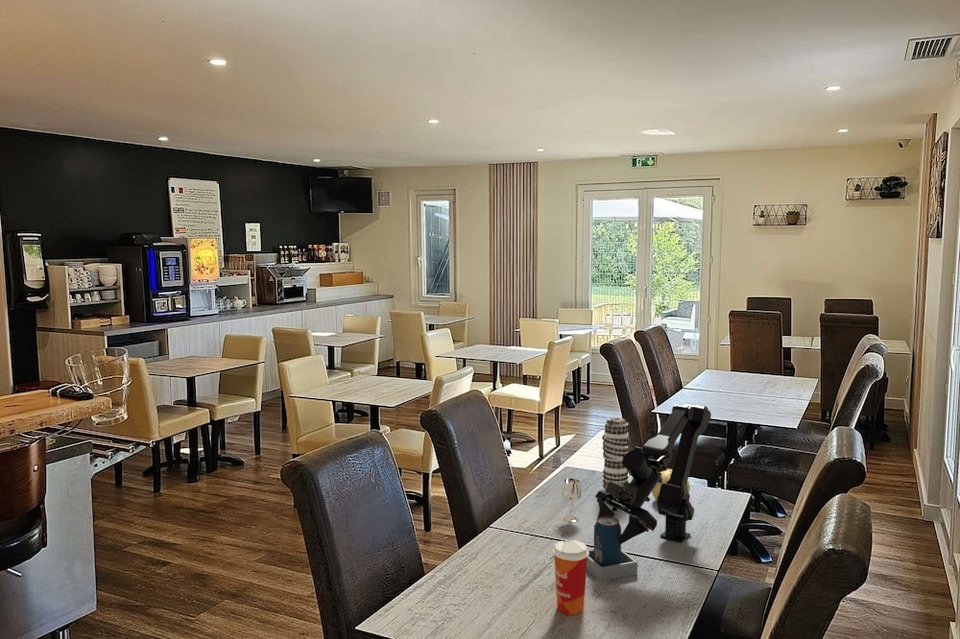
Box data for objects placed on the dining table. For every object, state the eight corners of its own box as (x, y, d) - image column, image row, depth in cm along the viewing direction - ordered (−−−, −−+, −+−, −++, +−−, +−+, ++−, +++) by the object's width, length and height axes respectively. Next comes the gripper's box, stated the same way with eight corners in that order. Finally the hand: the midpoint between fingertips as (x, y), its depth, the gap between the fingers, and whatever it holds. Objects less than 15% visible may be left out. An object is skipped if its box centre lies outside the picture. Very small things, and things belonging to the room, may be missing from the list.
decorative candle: (601, 495, 238) (602, 421, 236) (601, 485, 247) (602, 414, 245) (629, 496, 237) (630, 422, 234) (628, 486, 246) (629, 415, 243)
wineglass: (580, 523, 215) (580, 484, 213) (561, 522, 216) (561, 483, 215) (581, 516, 220) (581, 478, 219) (562, 514, 222) (563, 477, 220)
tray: (615, 557, 192) (616, 545, 192) (637, 574, 182) (637, 561, 182) (580, 563, 188) (580, 551, 188) (600, 581, 179) (600, 568, 178)
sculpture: (693, 508, 226) (694, 475, 224) (655, 509, 226) (656, 475, 225) (684, 496, 237) (684, 464, 236) (647, 496, 237) (648, 464, 236)
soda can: (623, 561, 187) (624, 517, 186) (617, 573, 181) (618, 527, 180) (597, 557, 190) (597, 513, 189) (590, 568, 184) (591, 523, 182)
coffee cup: (549, 600, 169) (549, 539, 168) (583, 598, 170) (584, 538, 168) (556, 619, 161) (556, 555, 159) (592, 617, 162) (593, 553, 160)
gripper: (600, 460, 193) (567, 507, 189) (649, 480, 177) (614, 532, 173) (623, 483, 198) (591, 530, 193) (672, 505, 181) (638, 556, 177)
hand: (607, 536), depth 184 cm, fingers open, 9 cm apart
